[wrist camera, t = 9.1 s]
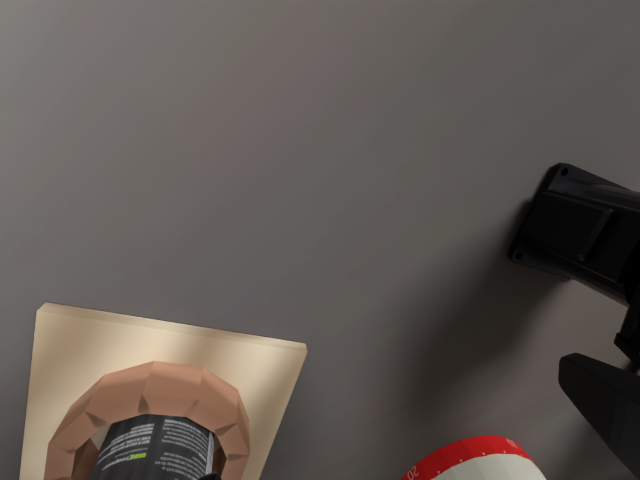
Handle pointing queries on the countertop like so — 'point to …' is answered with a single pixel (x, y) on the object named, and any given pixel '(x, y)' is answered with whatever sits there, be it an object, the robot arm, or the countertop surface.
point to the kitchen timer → (477, 462)
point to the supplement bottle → (154, 450)
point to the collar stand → (150, 388)
